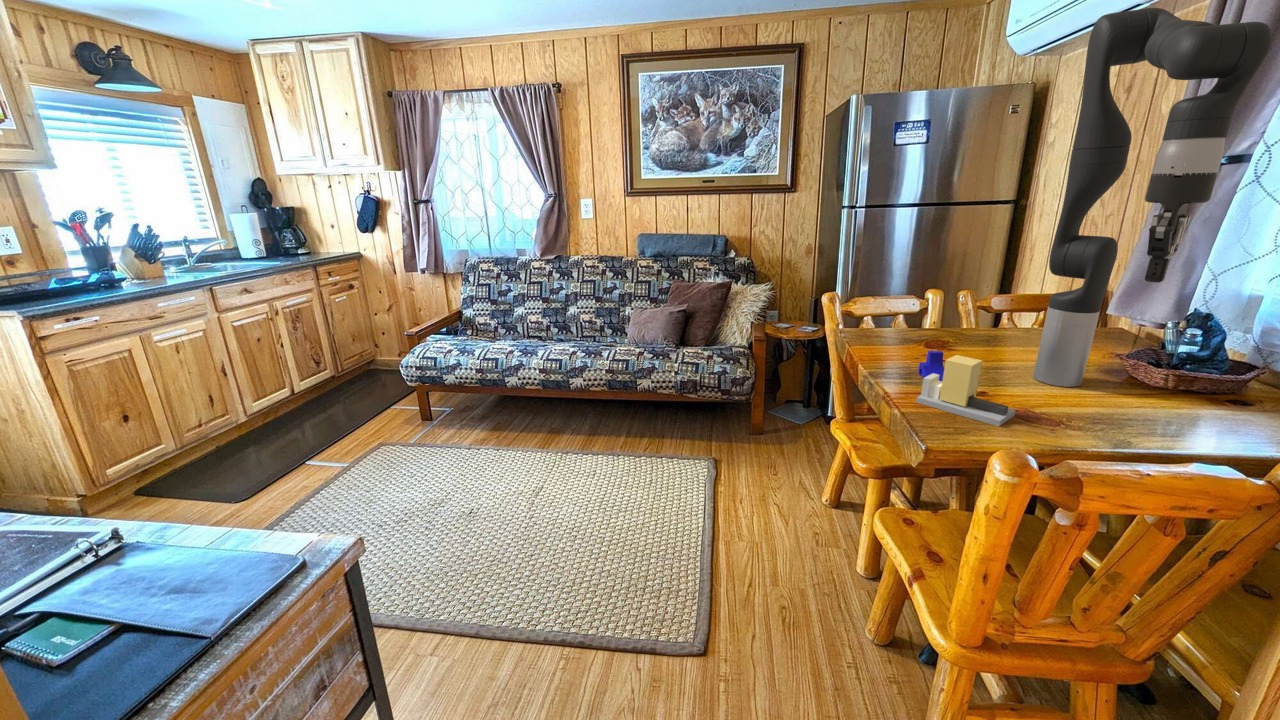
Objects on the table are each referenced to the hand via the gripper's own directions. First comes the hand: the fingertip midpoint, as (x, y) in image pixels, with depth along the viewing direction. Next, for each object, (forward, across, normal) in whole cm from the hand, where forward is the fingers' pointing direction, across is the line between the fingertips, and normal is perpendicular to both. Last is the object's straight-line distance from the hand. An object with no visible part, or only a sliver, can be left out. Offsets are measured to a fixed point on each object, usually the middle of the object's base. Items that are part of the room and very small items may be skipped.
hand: (1153, 281), depth 90 cm
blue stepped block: (+29, -7, -34) cm, 45 cm away
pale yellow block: (+28, +5, -24) cm, 37 cm away
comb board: (+29, +5, -23) cm, 37 cm away
